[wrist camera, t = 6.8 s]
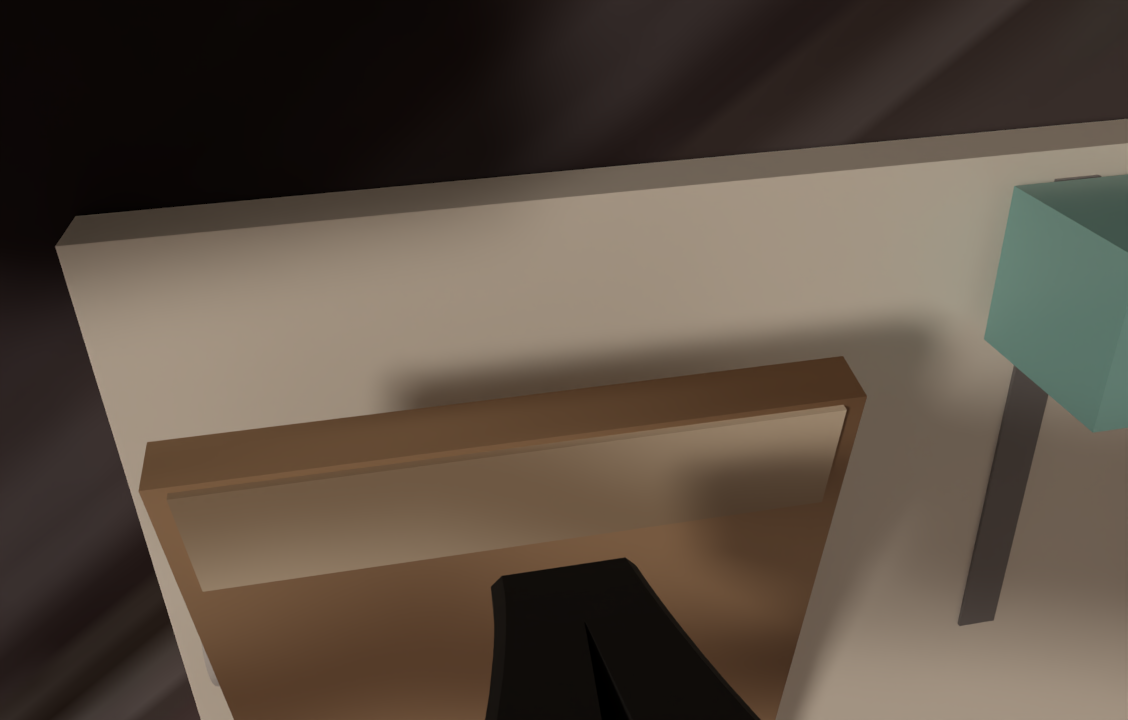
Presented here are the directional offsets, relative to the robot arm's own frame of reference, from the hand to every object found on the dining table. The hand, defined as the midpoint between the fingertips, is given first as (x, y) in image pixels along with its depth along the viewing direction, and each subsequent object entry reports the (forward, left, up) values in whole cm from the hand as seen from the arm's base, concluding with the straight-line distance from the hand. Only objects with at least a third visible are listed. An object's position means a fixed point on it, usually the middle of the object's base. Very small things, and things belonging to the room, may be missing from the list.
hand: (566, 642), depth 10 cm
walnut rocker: (-5, 0, -5) cm, 7 cm away
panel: (-6, -7, -8) cm, 12 cm away
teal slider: (0, -10, -7) cm, 12 cm away
